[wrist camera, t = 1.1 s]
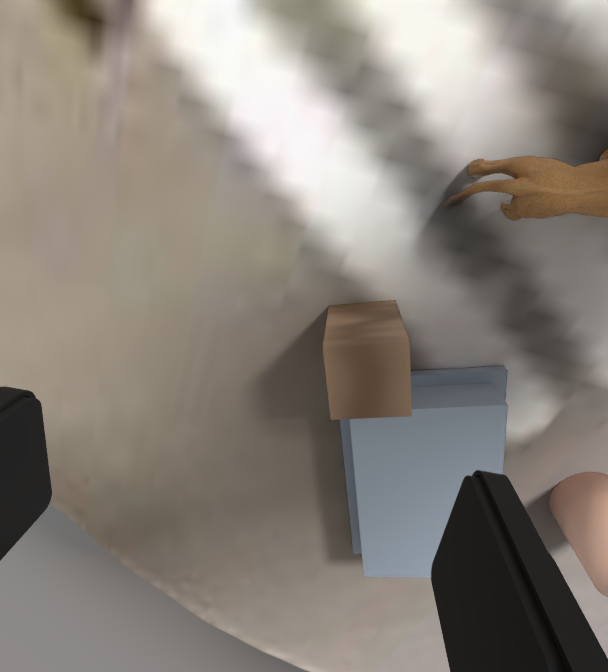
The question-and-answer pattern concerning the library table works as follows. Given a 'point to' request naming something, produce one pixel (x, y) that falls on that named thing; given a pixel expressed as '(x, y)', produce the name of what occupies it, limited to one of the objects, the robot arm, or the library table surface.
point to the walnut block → (367, 361)
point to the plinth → (420, 466)
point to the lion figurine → (542, 186)
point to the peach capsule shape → (585, 521)
